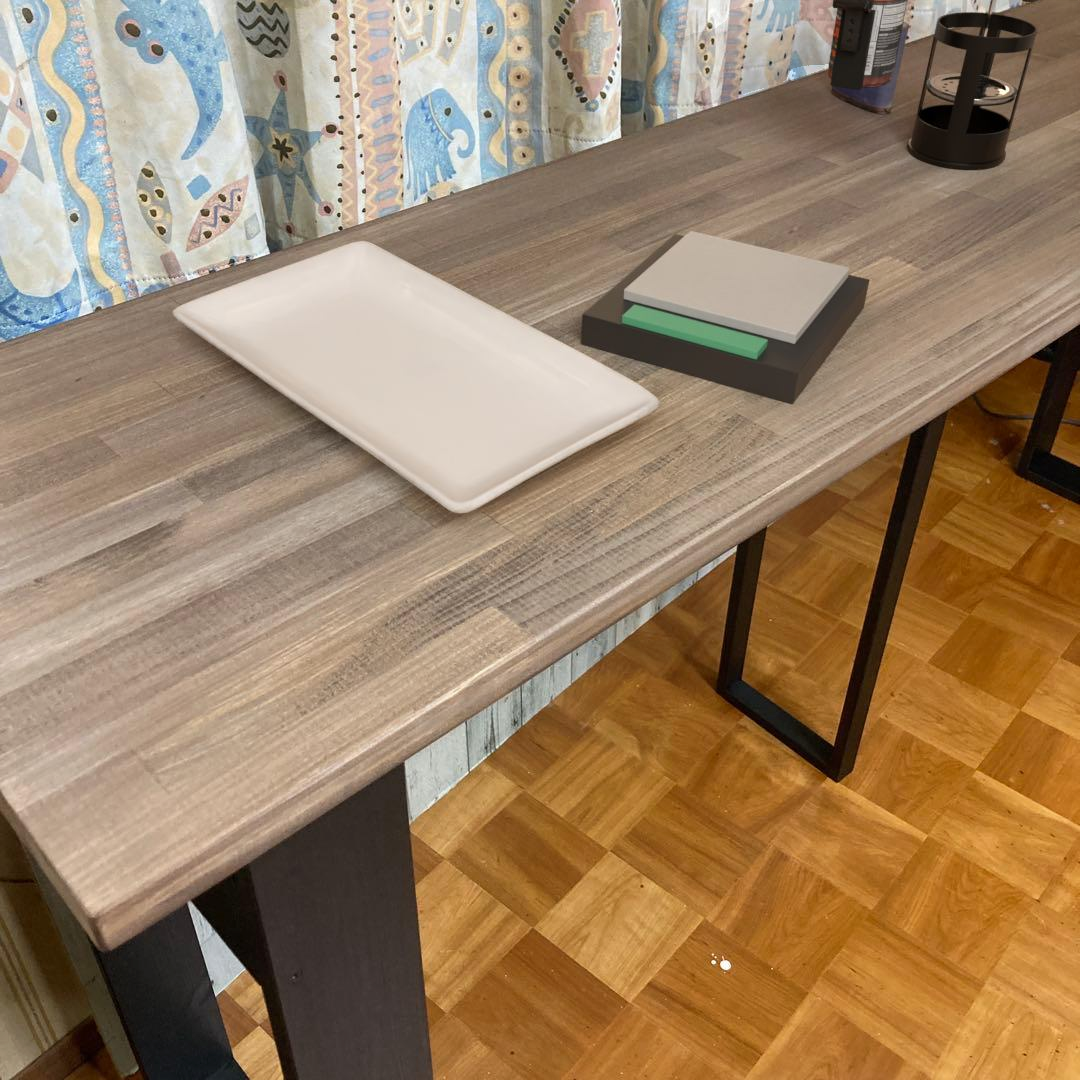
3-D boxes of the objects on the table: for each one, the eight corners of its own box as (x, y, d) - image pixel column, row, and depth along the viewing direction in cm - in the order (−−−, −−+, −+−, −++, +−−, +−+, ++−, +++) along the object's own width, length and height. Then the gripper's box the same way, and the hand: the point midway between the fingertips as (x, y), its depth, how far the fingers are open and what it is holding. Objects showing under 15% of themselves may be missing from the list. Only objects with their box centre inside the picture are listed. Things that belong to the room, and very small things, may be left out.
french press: (996, 178, 107) (1071, -96, 92) (897, 162, 110) (954, -106, 96) (1012, 140, 115) (1083, -117, 101) (919, 125, 118) (975, -126, 104)
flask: (896, 112, 121) (918, 5, 115) (874, 116, 121) (895, 8, 114) (844, 87, 128) (861, -15, 121) (823, 91, 127) (839, -12, 120)
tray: (458, 558, 62) (456, 508, 60) (174, 348, 80) (164, 303, 78) (664, 443, 71) (668, 396, 69) (367, 278, 89) (363, 236, 87)
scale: (863, 308, 86) (871, 269, 84) (792, 404, 75) (800, 362, 73) (672, 261, 92) (675, 224, 90) (580, 344, 81) (582, 303, 79)
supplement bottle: (814, 74, 105) (832, -61, 98) (868, 68, 107) (890, -66, 100) (849, 93, 101) (871, -48, 94) (905, 85, 102) (931, -53, 95)
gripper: (895, -236, 97) (849, 46, 112) (824, -218, 84) (783, 98, 99) (983, -232, 94) (924, 57, 109) (925, -213, 81) (867, 112, 96)
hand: (857, 76), depth 104 cm, fingers closed on supplement bottle, 6 cm apart
